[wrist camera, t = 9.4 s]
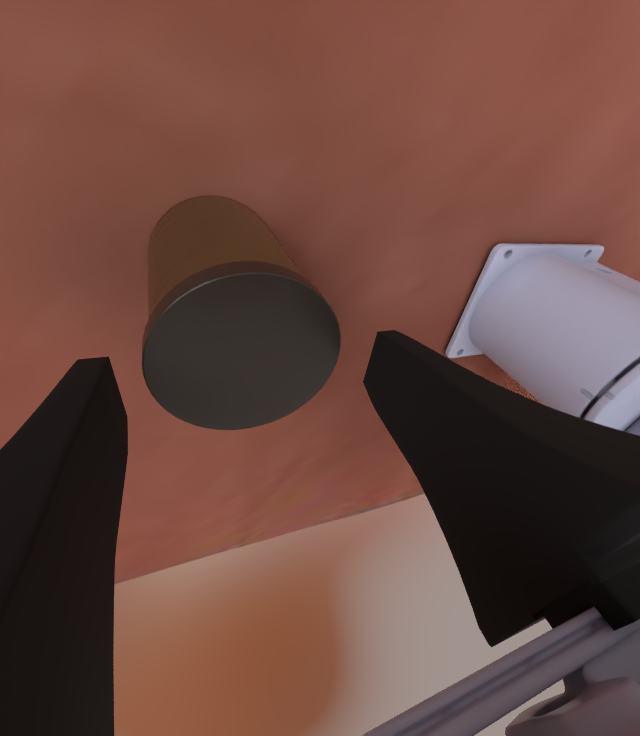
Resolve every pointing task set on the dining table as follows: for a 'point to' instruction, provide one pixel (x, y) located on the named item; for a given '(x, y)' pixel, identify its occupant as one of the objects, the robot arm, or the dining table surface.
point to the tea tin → (231, 320)
